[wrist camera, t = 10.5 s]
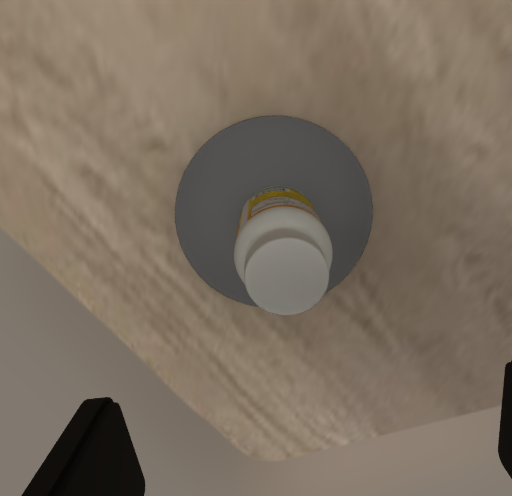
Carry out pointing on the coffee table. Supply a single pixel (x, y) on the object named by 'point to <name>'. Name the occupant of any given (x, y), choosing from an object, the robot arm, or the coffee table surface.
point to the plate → (264, 175)
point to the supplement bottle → (282, 251)
